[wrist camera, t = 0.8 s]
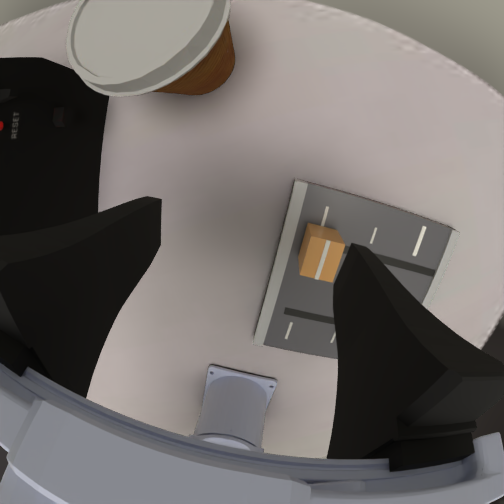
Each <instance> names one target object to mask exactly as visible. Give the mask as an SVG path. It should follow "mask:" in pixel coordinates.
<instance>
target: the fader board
mask: <svg viewBox="0 0 504 504" xmlns="http://www.w3.org/2000/svg"><path fill="white" fill-rule="evenodd" d="M308 223H311V224H315V225H319V226H323V227H327V228H331V229H335V230H338V232H339V234H340V236H341V238H342V239H343V241H344V243H345V247H344V251H343V254H342V257H341V259H340V262H339V265H338V268H337V271H336V274H335V277H334V280H333V282H328V281H323V280H317V279H314V278H311V277H306V276H302V275H300V273H299V261H298V256H299V252H300V249H301V245H302V242H303V238H304V234H305V231H306V227H307V224H308ZM459 235H460V232H458V231H457V230H455V229H453V228H451V227H449V226H446V225H443V224H441V223H438V222H435V221H433V220H430V219H427V218H424V217H422V216H419V215H416V214H413V213H410V212H407V211H404V210H401V209H398V208H395V207H392V206H389V205H386V204H383V203H380V202H377V201H374V200H370V199H367V198H364V197H361V196H357V195H354V194H351V193H347V192H344V191H340V190H337V189H333V188H329V187H326V186H322V185H318V184H315V183H311V182H307V181H303V180H299V179H295V180H294V184H293V188H292V192H291V196H290V201H289V205H288V209H287V213H286V217H285V221H284V225H283V229H282V233H281V236H280V240H279V244H278V248H277V252H276V256H275V260H274V264H273V267H272V271H271V275H270V279H269V283H268V286H267V290H266V294H265V298H264V301H263V305H262V309H261V312H260V316H259V320H258V323H257V327H256V331H255V334H254V339H253V345H257V346H263V345H266V346H271V347H275V348H280V349H285V350H290V351H295V352H300V353H305V354H311V355H316V356H322V357H328V358H334V359H338V353H337V343H336V333H335V324H334V314H333V285H334V282H335V280H336V278H337V276H338V273H339V271H340V269H341V266H342V264H343V262H344V259H345V257H346V255H347V252H348V250H349V247H350V245H351V243H355V244H358V245H362V246H366V247H367V248H369V249H370V250H371V251H372V252H373V253H374V254H375V255H376V256H377V257H378V258H379V259H380V260H381V262H382V263H383V264H384V265H385V266H386V267H387V268H388V269H389V270H390V272H391V273H392V274H393V275H394V276H395V277H396V278H397V279H398V280H399V282H400V283H401V284H402V285H403V286H404V287H405V288H406V289H407V290H408V291H409V292H410V293H411V294H412V295H413V296H414V297H415V298H416V299H417V300H418V301H419V302H420V303H421V304H422V305H423V306H424V307H425V308H426V309H427V310H428V308H429V306H430V304H431V302H432V300H433V298H434V296H435V294H436V291H437V289H438V287H439V285H440V283H441V280H442V278H443V276H444V273H445V271H446V269H447V266H448V264H449V261H450V259H451V256H452V254H453V251H454V249H455V246H456V243H457V240H458V238H459Z"/></svg>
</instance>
